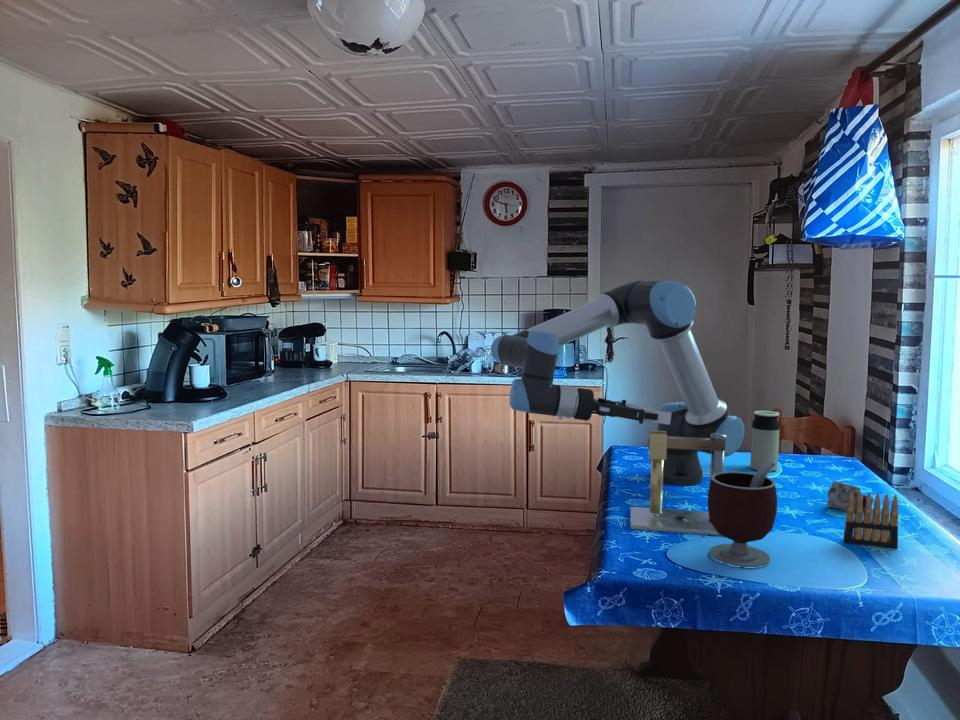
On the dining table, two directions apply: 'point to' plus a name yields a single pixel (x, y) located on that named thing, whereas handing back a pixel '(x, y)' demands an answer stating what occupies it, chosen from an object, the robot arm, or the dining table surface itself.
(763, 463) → the travel mug
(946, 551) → the dining table surface
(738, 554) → the mate gourd
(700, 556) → the dining table surface
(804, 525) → the dining table surface
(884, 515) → the ammunition clip
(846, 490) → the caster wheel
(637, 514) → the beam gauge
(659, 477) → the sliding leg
